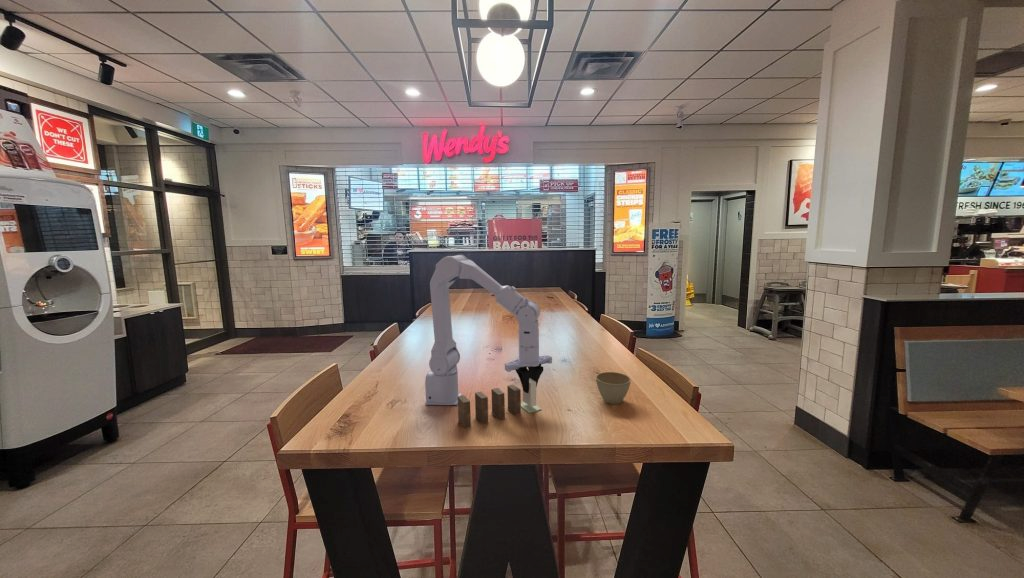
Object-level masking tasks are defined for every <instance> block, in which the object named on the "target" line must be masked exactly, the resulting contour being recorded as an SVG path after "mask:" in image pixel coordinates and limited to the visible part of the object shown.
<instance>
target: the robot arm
mask: <svg viewBox="0 0 1024 578" xmlns="http://www.w3.org/2000/svg"><path fill="white" fill-rule="evenodd" d="M458 279H462V280H463V279H464V280H472V281H474V282H475V283H476V284H478V285H479V286H481V287H483V288H484V289H485V290H487V291H489V293H491V294H492V295H494V298H495V302H497V304H499V305H500V306H501V307H502V308H505V310H506V311H508V312H509V313H511V314H512V315H514V316H515V319H516V321H517V322H518V358H517V359H515V360H512V361H509V362H506V363H504V371H506V372H507V373H510V372H512V371H515V372H516V374H517V376H518V378H519V380H520V384H521V387H522V392H523V391H524V392H525V393H529V379H530V378H531V379H532V380H534V381H536V388H537V386H538V383H539V380H540V377H541V375H542V373H543V372H544V366H542V365H545V364H549V365H550V364H553V356H551V355H549V354H548V355H540V330H539V329H540V328H539V317H540V314H541V309H540V307H539V305H538V304H537V303H536V302H535V301H534V300H530V298H528V297H525V296H523V295H522V294H520V292H518V291H516V290H517V288H516V287H515V286H513V285H512V286H510V285H508V284H507V285H502V284H501V283H499V282H498V281H497V280H496V279H494V278H493V277H492V276H491V275H489V274H488V273H487V272H486V271H485V270H483V268H481V267H480V266H479V265H478V264H476V263H475V262H474V261H473V260H472V259H468V257H466V256H465V255H464V254H456V255H453V256H452V255H447V256H444V257H442V258H441V259H440V260H438V262H436V264H435V270H434V272H433V274H432V276H431V279H430V281H429V289H430V300H431V302H430V304H431V312H432V314H431V315H432V324H433V325H432V327H433V336H434V343H433V345H432V348H431V350H430V353H431V355H430V358H429V362H428V366H429V369H430V371H428V372H427V373H426V376H425V378H424V379H425V381H424V386H425V388H424V389H425V406H431V405H432V406H458V396H463V394H462V392H459V377H458V376H459V374H458V373H459V372H458V365H457V364H459V363H460V359H461V353H460V351H459V349H458V348H457V342H456V341H455V340H454V338H453V326H452V313H451V303H450V302H451V301H450V289H449V288H450V287H451V286H452V285H453V284H454V283H455V281H457V280H458Z"/></svg>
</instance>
